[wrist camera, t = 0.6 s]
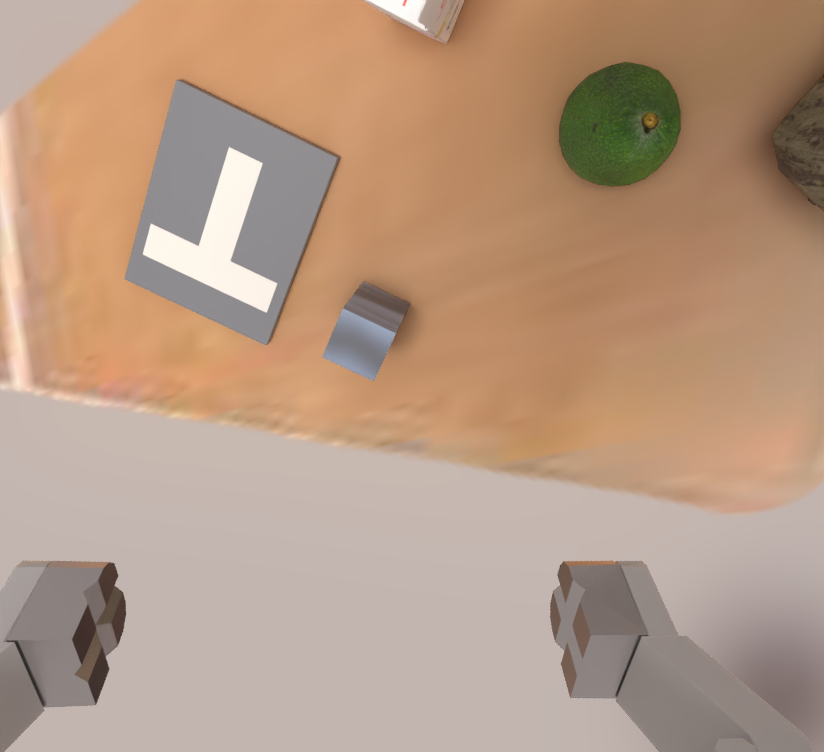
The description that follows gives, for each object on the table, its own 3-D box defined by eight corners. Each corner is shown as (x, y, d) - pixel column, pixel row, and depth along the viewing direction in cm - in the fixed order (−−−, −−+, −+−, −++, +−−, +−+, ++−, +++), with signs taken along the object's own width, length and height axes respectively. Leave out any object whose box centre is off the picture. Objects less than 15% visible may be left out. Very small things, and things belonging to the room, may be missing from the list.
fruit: (668, 162, 50) (713, 181, 39) (564, 189, 52) (580, 214, 41) (654, 52, 47) (699, 39, 36) (545, 84, 49) (556, 81, 38)
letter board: (182, 80, 52) (176, 79, 51) (340, 157, 53) (337, 158, 52) (130, 276, 60) (124, 279, 59) (269, 341, 60) (266, 345, 60)
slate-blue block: (363, 281, 57) (342, 308, 50) (410, 303, 57) (396, 333, 50) (344, 324, 59) (322, 357, 52) (389, 346, 59) (373, 381, 52)
